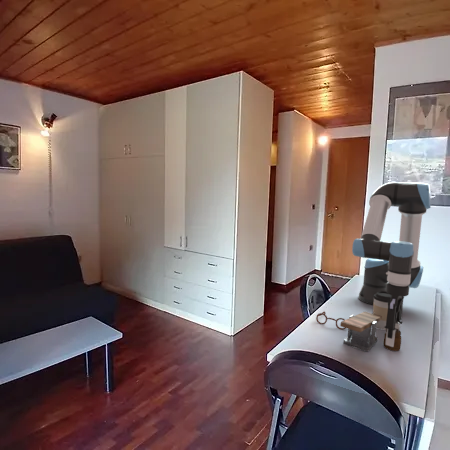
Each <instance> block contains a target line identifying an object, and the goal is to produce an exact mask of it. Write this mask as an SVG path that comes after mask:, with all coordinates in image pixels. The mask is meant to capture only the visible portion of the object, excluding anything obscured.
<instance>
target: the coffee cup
mask: <svg viewBox="0 0 450 450" xmlns="http://www.w3.org/2000/svg"><path fill="white" fill-rule="evenodd" d="M391 296H392V295H391V294H389V293H387V292H385V291H380V292H377V293H376V294H374V297H373V298H374V303H373V304H372V305H373V307H372V310H373V312H372V314H376V315H380V316H382V320H381V321H379V322H377V324H376V329H378V330H384V331H386V328H385V326H386V320H387V312H388V302H389V299H390V298H391Z"/></svg>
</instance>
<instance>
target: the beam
mask: <svg viewBox="0 0 450 450" xmlns="http://www.w3.org/2000/svg"><path fill="white" fill-rule="evenodd" d="M381 320H382V316H380V315H376V314H373V312H372V313H371V312H368V311H363V312H360V313H358V314H356V315H354V316H353V317H351V318H349V317H348V318H347V319H345V320H342V321H341V322H340V327H341V328H346V329H347V330H348V329H351V330H354V331H358V332H362V331H363V330H365V329H367V328H368V327H370V326H371V327H372V323H373V322H374V321H377V322H379V321H381Z"/></svg>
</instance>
